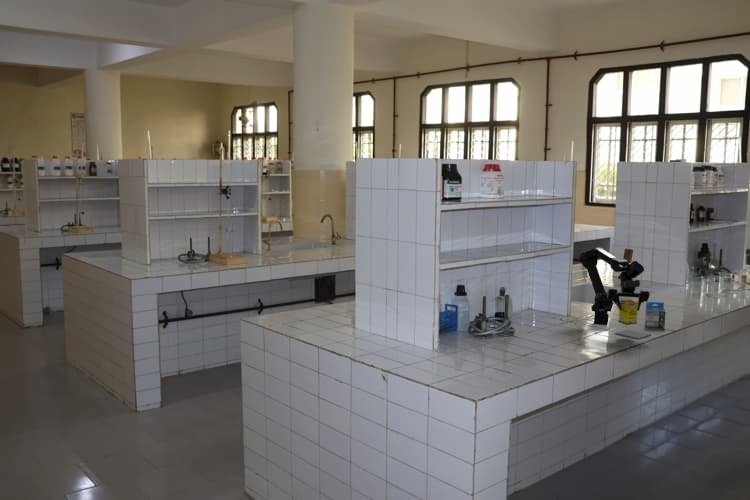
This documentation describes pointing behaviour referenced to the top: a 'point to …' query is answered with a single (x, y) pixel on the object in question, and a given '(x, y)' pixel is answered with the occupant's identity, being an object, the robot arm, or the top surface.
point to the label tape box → (655, 315)
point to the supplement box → (628, 312)
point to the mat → (633, 334)
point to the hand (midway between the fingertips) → (629, 310)
